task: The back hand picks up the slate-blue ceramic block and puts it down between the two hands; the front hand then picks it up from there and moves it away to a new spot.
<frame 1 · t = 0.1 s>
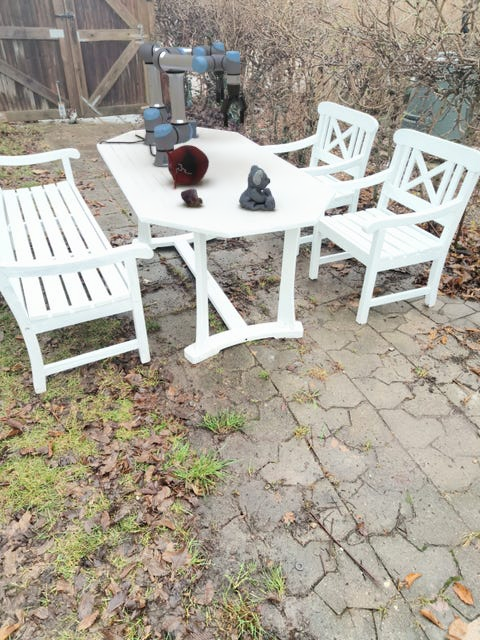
front hand: (234, 125, 259), 28 cm above the table, tool pointing down, fingers open, 13 cm apart
back hand: (220, 101, 328), 28 cm above the table, tool pointing down, fingers open, 13 cm apart
rock: (191, 204, 231), on the table
block: (192, 136, 358), on the table
dark red rounded piece: (189, 181, 263), on the table
koala plush: (256, 206, 229), on the table
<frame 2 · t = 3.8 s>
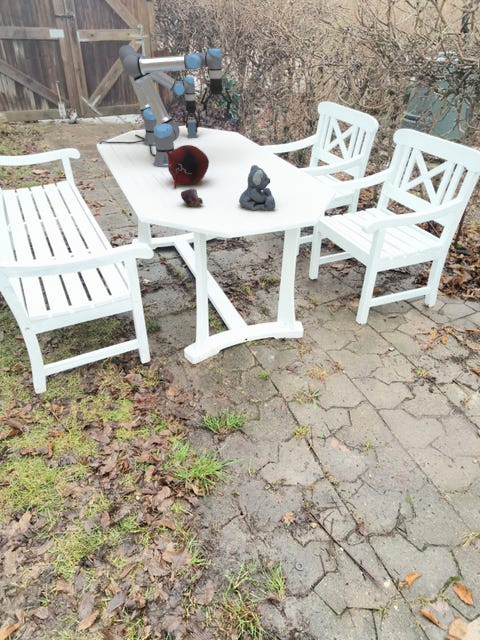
front hand: (217, 115, 287), 27 cm above the table, tool pointing down, fingers open, 13 cm apart
back hand: (192, 132, 356), 3 cm above the table, tool pointing down, fingers closed on block, 6 cm apart
block: (192, 136, 358), on the table, touching back hand
everything else where it was.
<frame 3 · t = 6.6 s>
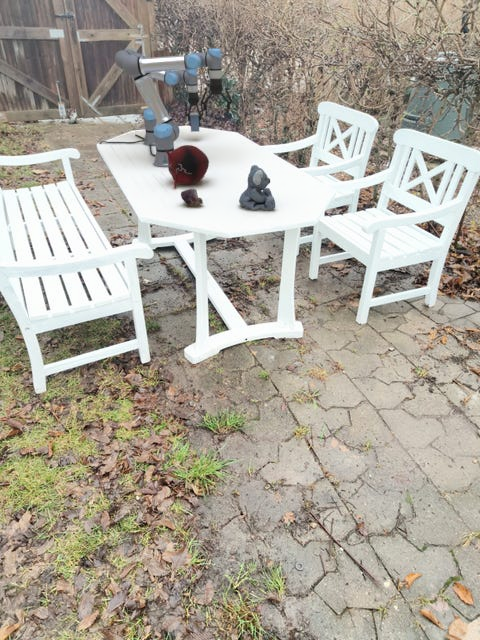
front hand: (217, 115, 287), 27 cm above the table, tool pointing down, fingers open, 13 cm apart
back hand: (195, 125, 340), 11 cm above the table, tool pointing down, fingers closed on block, 6 cm apart
block: (195, 130, 342), point 8 cm above the table, touching back hand
everything else where it was.
when the back hand's fingers open (5 cm above the table, at t = 9.3 s): block drops 1 cm, on the table.
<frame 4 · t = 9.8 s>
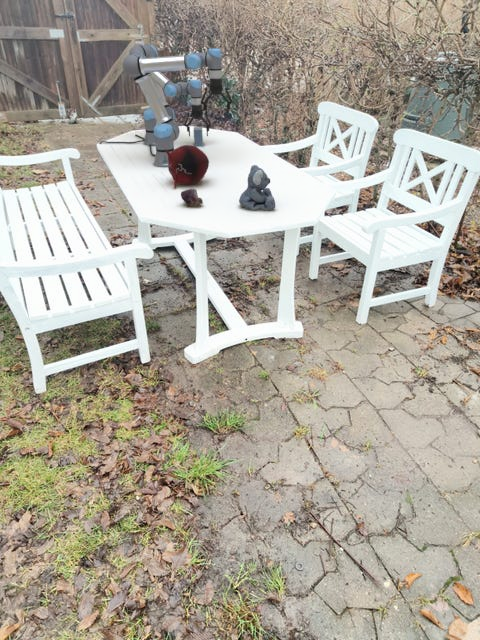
front hand: (217, 115, 287), 27 cm above the table, tool pointing down, fingers open, 13 cm apart
back hand: (198, 136, 332), 6 cm above the table, tool pointing down, fingers open, 12 cm apart
block: (198, 144, 336), on the table
everything else where it was.
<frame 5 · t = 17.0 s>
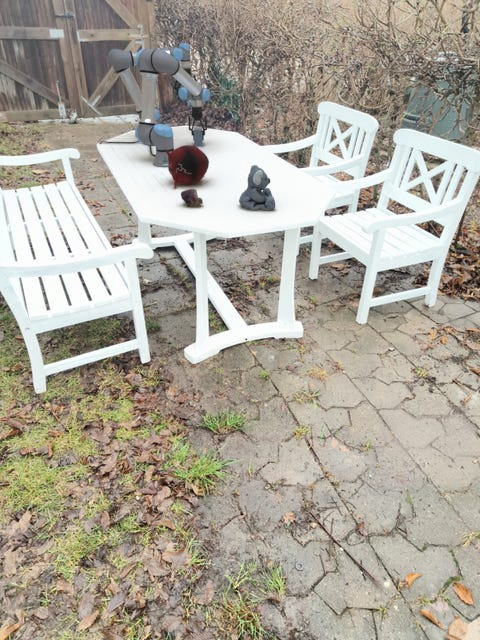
front hand: (198, 140, 334), 3 cm above the table, tool pointing down, fingers closed on block, 6 cm apart
back hand: (187, 99, 346), 26 cm above the table, tool pointing down, fingers open, 13 cm apart
block: (198, 144, 336), on the table, touching front hand
everything else where it was.
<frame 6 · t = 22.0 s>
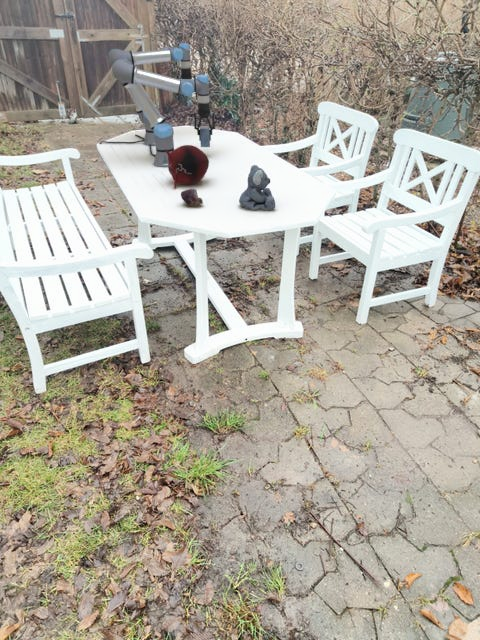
front hand: (205, 140, 302), 11 cm above the table, tool pointing down, fingers closed on block, 6 cm apart
back hand: (187, 99, 346), 26 cm above the table, tool pointing down, fingers open, 13 cm apart
block: (205, 145, 304), point 7 cm above the table, touching front hand
everything else where it was.
when the front hand's fingers open (5 cm above the table, at t = 27.0 s): block drops 1 cm, on the table.
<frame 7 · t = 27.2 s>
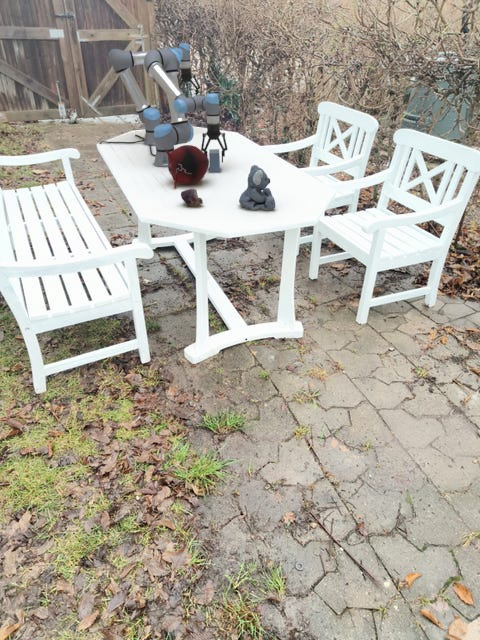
front hand: (214, 162, 278), 5 cm above the table, tool pointing down, fingers open, 9 cm apart
back hand: (187, 99, 346), 26 cm above the table, tool pointing down, fingers open, 13 cm apart
block: (215, 170, 281), on the table
everything else where it was.
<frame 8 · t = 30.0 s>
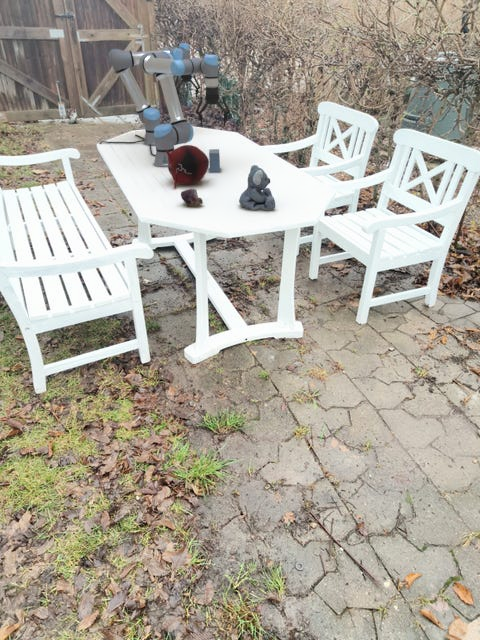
front hand: (213, 126, 267), 26 cm above the table, tool pointing down, fingers open, 13 cm apart
back hand: (187, 99, 346), 26 cm above the table, tool pointing down, fingers open, 13 cm apart
nothing on the table moved.
at the end: block inside the target area (0.1 cm from its centre), on the table; block tilted 0°; the two hands never held the block at the same time; the front hand is holding nothing; the back hand is holding nothing; block at rest at the end (0.0 cm/s) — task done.
